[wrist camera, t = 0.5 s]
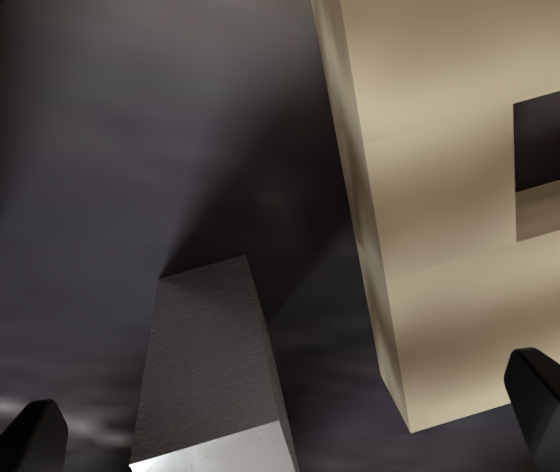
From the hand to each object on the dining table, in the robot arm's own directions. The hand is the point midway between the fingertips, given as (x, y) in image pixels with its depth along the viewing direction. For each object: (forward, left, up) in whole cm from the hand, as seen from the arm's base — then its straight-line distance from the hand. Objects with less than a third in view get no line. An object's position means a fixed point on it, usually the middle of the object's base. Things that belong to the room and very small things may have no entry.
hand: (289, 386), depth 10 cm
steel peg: (-5, +3, -12) cm, 13 cm away
